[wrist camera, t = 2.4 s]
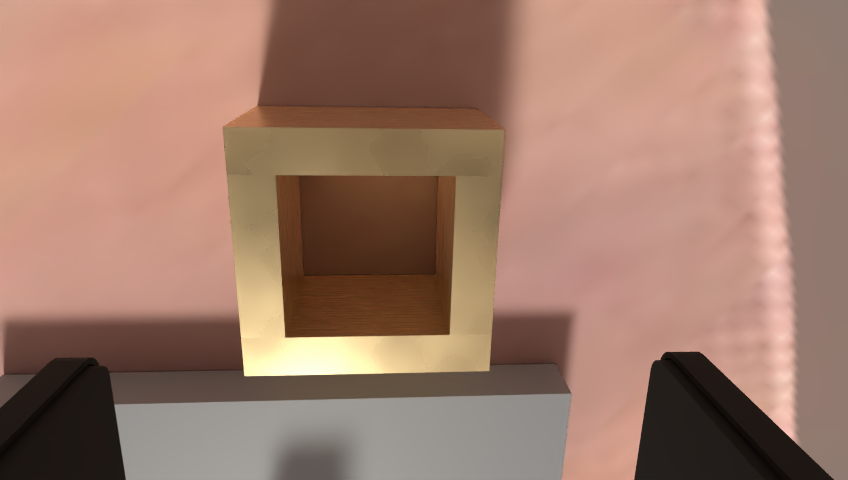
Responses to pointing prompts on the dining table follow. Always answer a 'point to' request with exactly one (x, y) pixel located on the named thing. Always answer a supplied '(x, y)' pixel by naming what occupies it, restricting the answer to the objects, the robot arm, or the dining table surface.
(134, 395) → the post stand
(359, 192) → the dining table surface
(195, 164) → the dining table surface
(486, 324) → the collar
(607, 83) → the dining table surface
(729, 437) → the robot arm
